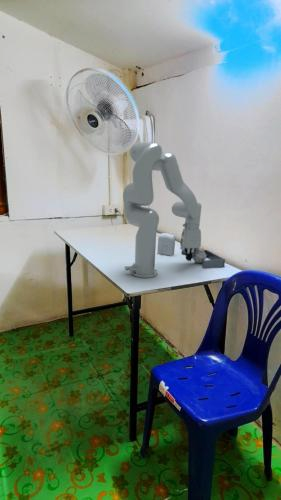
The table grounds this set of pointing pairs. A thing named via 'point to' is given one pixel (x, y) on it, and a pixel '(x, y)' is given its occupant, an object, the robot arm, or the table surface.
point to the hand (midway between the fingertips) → (188, 260)
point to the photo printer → (166, 244)
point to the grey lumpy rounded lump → (199, 256)
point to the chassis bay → (213, 260)
